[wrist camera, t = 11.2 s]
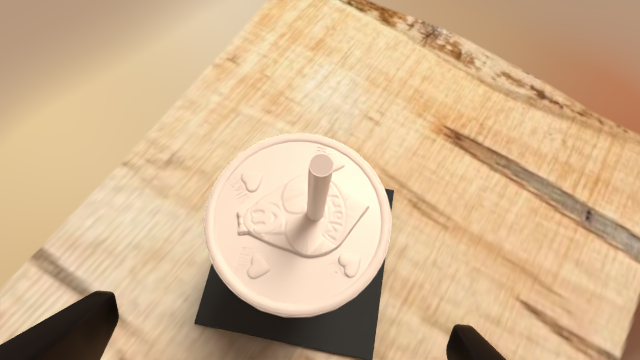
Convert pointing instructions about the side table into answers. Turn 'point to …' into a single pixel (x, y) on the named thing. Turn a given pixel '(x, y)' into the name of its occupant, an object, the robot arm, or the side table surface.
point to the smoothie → (297, 225)
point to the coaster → (298, 318)
